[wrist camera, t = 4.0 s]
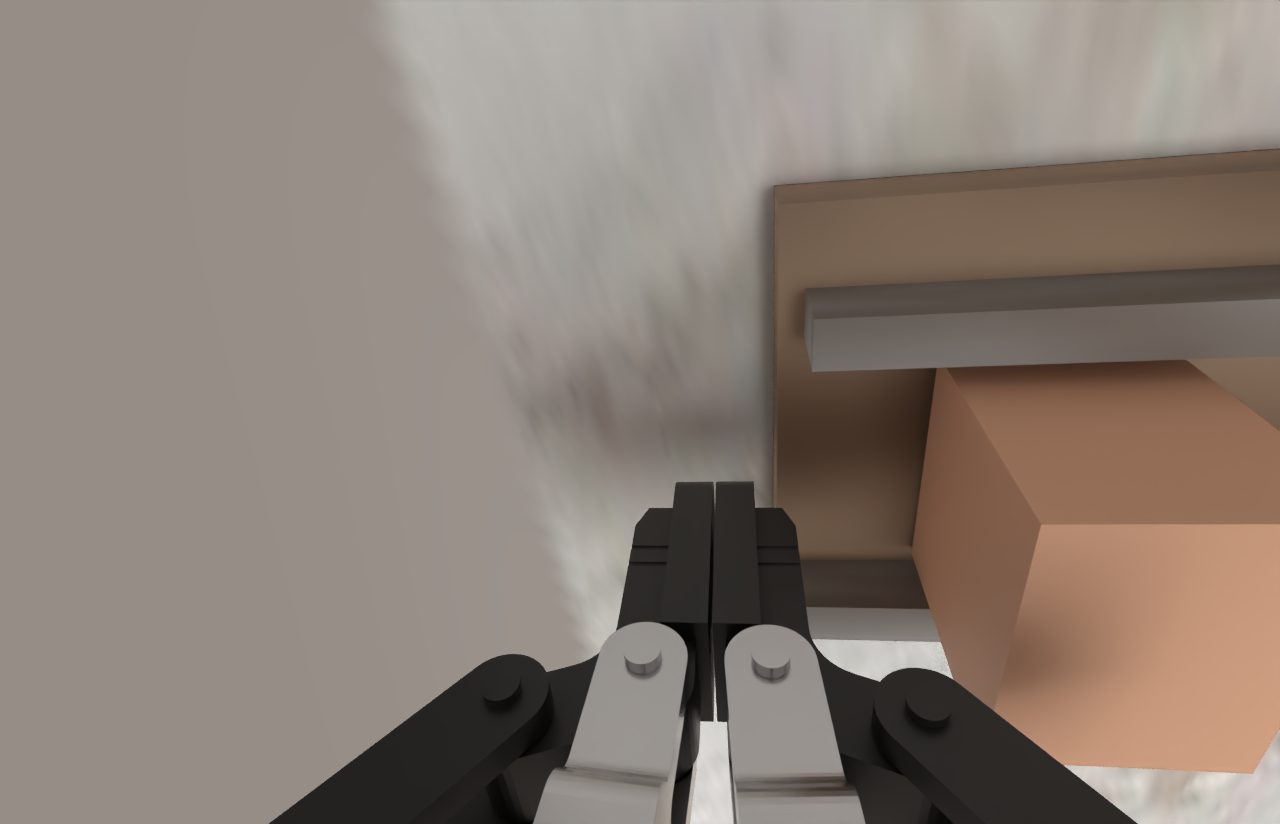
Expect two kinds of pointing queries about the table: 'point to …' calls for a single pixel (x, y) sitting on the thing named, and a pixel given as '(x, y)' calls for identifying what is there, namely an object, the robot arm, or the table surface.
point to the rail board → (990, 329)
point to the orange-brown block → (1107, 559)
